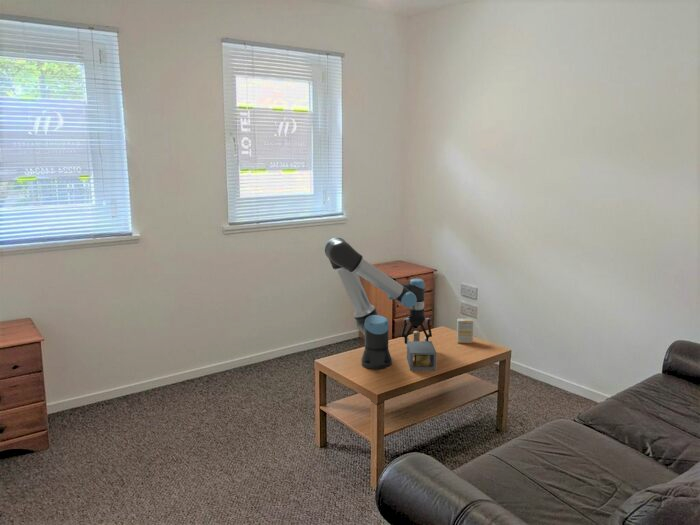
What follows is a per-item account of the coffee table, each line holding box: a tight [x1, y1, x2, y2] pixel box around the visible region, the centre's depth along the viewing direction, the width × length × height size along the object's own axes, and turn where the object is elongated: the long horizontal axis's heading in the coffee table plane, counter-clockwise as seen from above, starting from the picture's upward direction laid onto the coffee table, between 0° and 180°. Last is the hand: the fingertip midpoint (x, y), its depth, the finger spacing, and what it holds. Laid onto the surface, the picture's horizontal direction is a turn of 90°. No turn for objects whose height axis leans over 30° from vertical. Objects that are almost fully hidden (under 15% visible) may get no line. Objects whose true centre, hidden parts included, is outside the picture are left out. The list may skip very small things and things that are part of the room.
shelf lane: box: [406, 340, 437, 372], centre depth 272 cm, size 12×16×9 cm
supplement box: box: [456, 317, 474, 345], centre depth 302 cm, size 8×5×13 cm, turn 84°
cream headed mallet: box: [412, 330, 429, 367], centre depth 281 cm, size 6×25×10 cm, turn 0°
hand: (416, 349), depth 292 cm, fingers open, 9 cm apart
